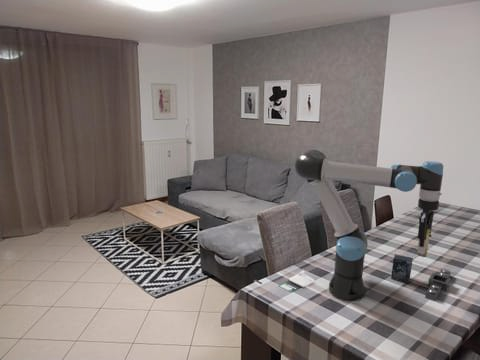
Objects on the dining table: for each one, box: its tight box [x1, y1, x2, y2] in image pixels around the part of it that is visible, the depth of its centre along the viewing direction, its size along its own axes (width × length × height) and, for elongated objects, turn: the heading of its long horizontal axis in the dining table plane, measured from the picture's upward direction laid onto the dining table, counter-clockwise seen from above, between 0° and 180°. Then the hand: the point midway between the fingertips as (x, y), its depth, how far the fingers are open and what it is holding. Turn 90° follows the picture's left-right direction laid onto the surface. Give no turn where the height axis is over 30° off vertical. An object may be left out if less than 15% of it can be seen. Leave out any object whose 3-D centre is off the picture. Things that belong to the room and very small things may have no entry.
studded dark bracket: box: [424, 268, 452, 302], centre depth 157 cm, size 29×7×4 cm, turn 139°
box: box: [390, 253, 414, 284], centre depth 163 cm, size 8×6×11 cm
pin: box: [417, 228, 432, 258], centre depth 147 cm, size 4×4×12 cm
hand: (422, 251), depth 148 cm, fingers closed on pin, 3 cm apart
